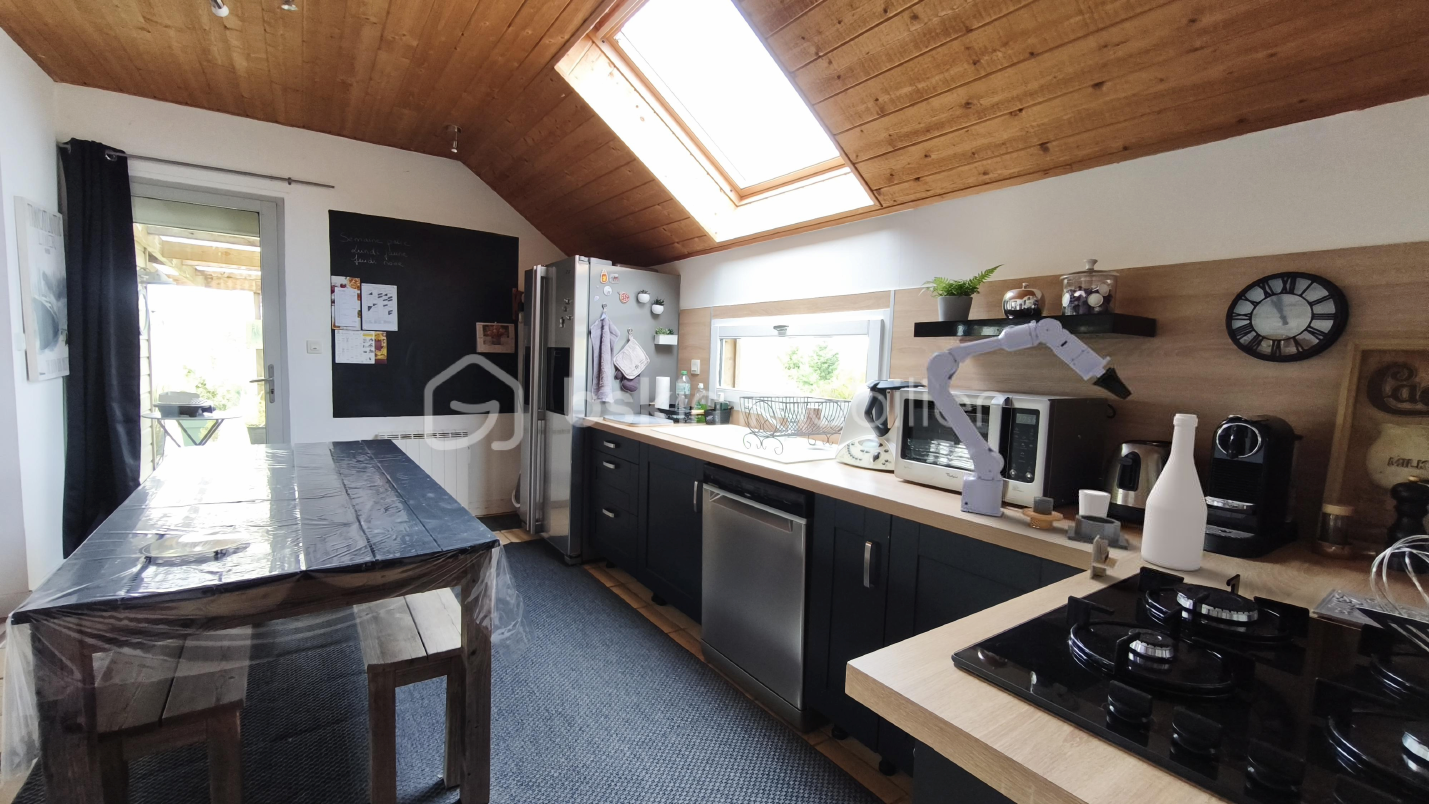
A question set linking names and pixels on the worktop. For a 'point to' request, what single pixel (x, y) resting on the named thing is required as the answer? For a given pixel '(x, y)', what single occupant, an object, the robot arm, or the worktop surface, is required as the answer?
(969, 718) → the worktop surface
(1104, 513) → the shot glass
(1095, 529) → the grey bowl on base
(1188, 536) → the wine bottle
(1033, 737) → the worktop surface
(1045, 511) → the cap
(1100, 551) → the architectural model
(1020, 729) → the worktop surface
